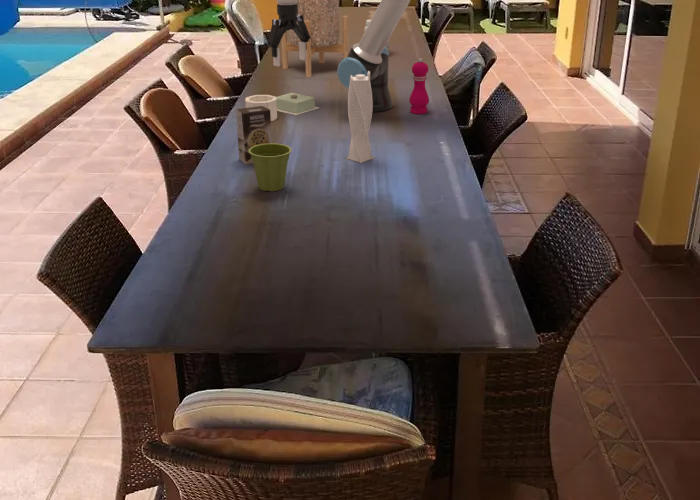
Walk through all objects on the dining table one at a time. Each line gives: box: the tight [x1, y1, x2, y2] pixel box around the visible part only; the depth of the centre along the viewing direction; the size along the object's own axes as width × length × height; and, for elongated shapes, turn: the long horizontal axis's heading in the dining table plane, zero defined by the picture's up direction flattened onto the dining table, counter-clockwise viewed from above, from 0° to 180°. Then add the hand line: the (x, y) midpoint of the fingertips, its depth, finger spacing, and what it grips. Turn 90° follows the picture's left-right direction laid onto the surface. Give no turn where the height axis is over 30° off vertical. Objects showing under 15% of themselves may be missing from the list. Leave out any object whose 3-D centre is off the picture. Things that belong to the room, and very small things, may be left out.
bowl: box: [244, 94, 278, 122], centre depth 284 cm, size 11×11×8 cm
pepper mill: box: [408, 57, 430, 115], centre depth 289 cm, size 7×7×20 cm
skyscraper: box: [344, 71, 377, 164], centre depth 239 cm, size 8×8×28 cm
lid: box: [275, 92, 316, 115], centre depth 297 cm, size 12×10×5 cm
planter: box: [280, 0, 349, 78], centre depth 352 cm, size 22×23×32 cm
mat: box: [277, 106, 320, 116], centre depth 298 cm, size 14×13×1 cm
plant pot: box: [249, 142, 292, 192], centre depth 221 cm, size 12×12×11 cm
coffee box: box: [235, 106, 273, 165], centre depth 242 cm, size 9×6×16 cm
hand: (290, 62), depth 292 cm, fingers open, 13 cm apart
